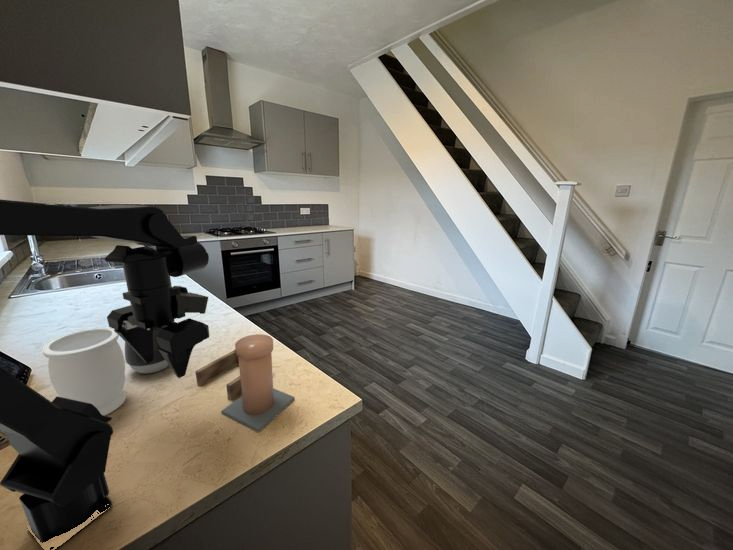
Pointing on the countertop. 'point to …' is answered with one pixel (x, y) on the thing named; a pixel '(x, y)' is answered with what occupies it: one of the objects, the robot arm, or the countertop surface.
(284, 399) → the mat
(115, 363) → the jar
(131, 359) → the pump dispenser
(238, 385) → the frame
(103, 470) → the robot arm
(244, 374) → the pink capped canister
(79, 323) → the countertop surface
